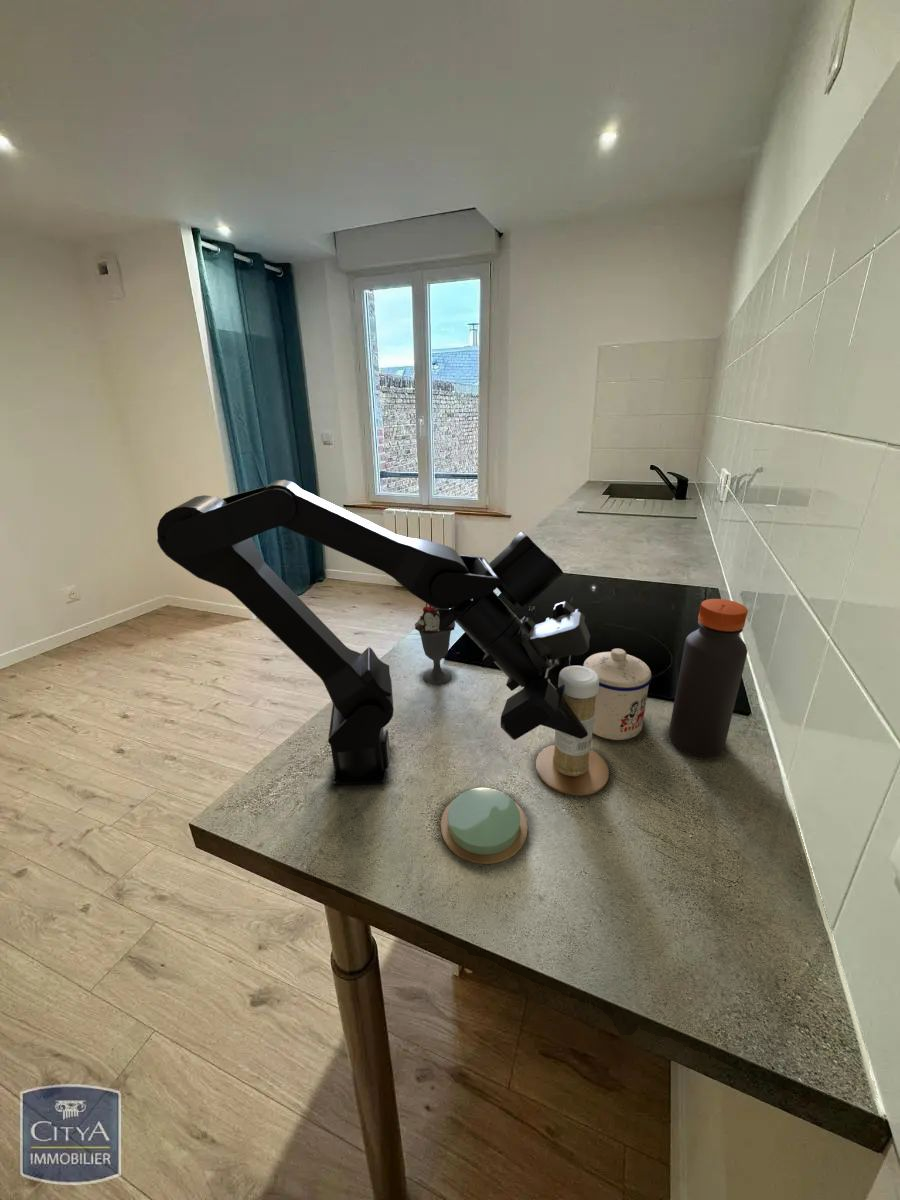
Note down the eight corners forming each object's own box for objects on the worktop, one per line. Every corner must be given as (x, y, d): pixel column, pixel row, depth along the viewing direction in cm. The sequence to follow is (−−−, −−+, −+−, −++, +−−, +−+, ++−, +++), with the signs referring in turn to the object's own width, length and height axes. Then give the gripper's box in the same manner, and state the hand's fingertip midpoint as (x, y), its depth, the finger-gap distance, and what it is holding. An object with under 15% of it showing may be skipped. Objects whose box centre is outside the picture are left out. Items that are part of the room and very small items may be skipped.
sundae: (413, 670, 83) (408, 591, 77) (450, 664, 85) (447, 586, 79) (423, 690, 77) (417, 607, 71) (461, 683, 79) (459, 600, 73)
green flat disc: (448, 856, 49) (448, 848, 48) (446, 796, 56) (446, 789, 55) (526, 852, 49) (526, 844, 48) (514, 793, 56) (514, 785, 56)
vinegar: (729, 762, 60) (765, 620, 52) (671, 753, 62) (698, 615, 54) (717, 729, 66) (747, 597, 58) (665, 722, 68) (687, 593, 60)
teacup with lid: (630, 751, 62) (641, 676, 58) (567, 725, 68) (572, 654, 63) (658, 708, 71) (670, 639, 66) (600, 688, 76) (607, 623, 72)
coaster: (544, 797, 56) (544, 795, 56) (529, 746, 64) (529, 744, 64) (619, 793, 56) (619, 791, 56) (595, 743, 64) (595, 741, 64)
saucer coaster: (441, 866, 48) (441, 864, 48) (440, 793, 57) (440, 792, 57) (535, 861, 48) (535, 859, 48) (519, 790, 57) (519, 788, 57)
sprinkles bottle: (578, 750, 62) (587, 661, 57) (595, 774, 58) (607, 681, 53) (545, 756, 61) (552, 666, 56) (561, 781, 57) (570, 687, 52)
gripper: (537, 627, 44) (647, 746, 45) (559, 565, 60) (639, 653, 61) (457, 686, 49) (557, 790, 50) (497, 614, 65) (572, 694, 66)
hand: (585, 724), depth 57 cm, fingers closed on sprinkles bottle, 4 cm apart
